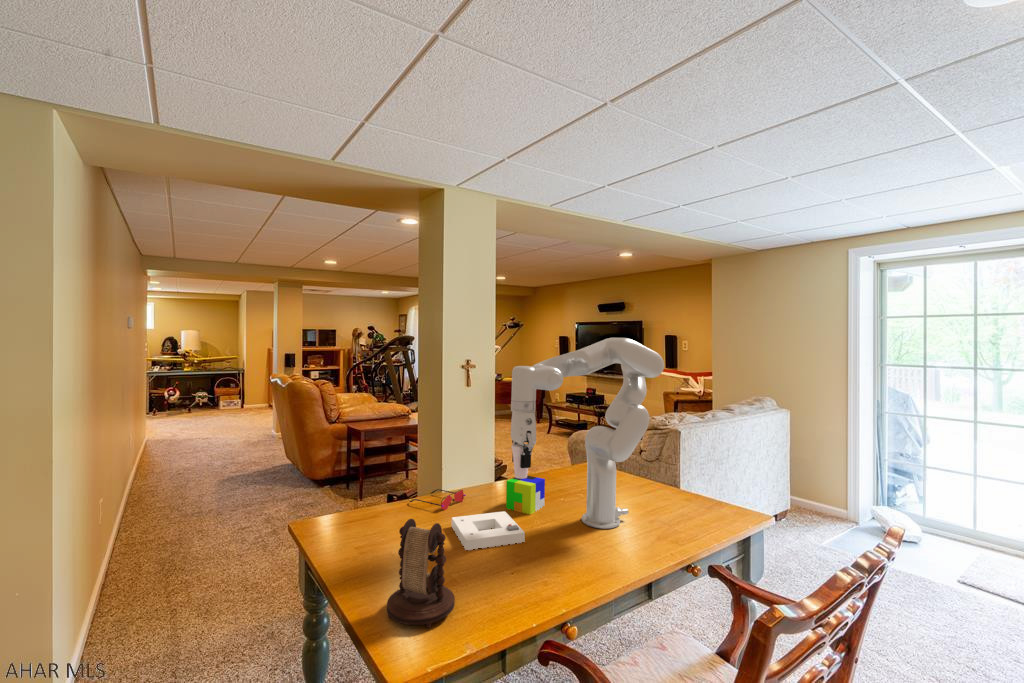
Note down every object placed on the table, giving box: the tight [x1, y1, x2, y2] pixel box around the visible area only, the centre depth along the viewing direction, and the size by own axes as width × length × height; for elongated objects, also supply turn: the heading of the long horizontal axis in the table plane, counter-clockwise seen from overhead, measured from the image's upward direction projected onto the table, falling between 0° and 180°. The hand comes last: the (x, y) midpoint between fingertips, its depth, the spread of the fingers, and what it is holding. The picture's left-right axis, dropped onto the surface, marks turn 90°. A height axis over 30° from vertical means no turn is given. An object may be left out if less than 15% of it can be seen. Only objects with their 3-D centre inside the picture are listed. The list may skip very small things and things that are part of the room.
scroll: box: [386, 518, 456, 629], centre depth 106 cm, size 15×15×20 cm
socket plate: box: [451, 510, 526, 551], centre depth 148 cm, size 18×18×4 cm
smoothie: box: [510, 443, 529, 479], centre depth 148 cm, size 6×6×14 cm
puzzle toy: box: [505, 475, 546, 515], centre depth 172 cm, size 10×10×10 cm
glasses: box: [409, 488, 467, 511], centre depth 176 cm, size 14×16×5 cm
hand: (521, 464), depth 148 cm, fingers closed on smoothie, 6 cm apart
